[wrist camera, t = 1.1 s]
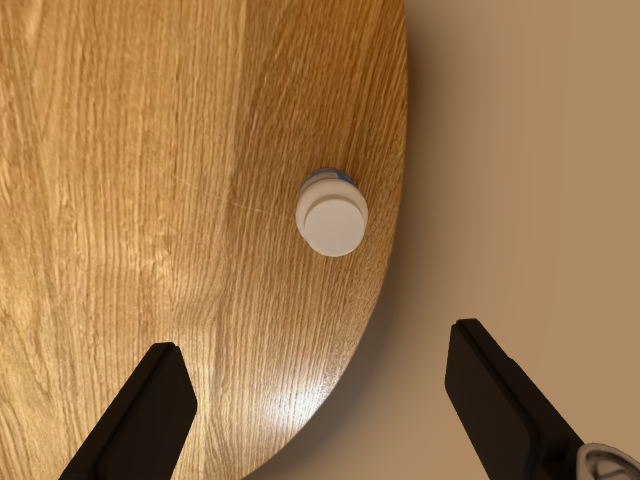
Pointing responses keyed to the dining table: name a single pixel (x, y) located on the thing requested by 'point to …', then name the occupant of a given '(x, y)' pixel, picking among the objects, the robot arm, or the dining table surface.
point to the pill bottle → (331, 212)
